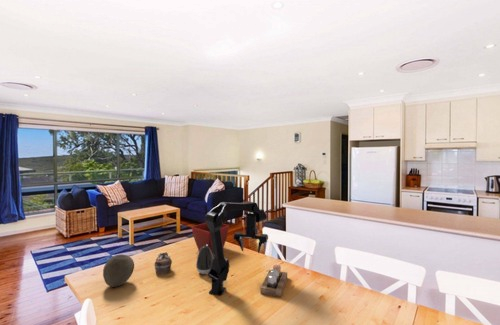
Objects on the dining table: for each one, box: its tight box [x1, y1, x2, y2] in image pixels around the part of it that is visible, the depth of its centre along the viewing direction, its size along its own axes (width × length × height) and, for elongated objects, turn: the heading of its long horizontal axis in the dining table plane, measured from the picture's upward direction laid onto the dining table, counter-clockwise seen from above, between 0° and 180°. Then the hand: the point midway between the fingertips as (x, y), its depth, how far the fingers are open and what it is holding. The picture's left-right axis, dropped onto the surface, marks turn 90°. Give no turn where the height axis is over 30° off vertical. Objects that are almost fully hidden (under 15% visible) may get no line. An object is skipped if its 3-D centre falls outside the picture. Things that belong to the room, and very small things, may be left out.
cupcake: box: [153, 252, 173, 275], centre depth 143 cm, size 10×10×10 cm
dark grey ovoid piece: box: [195, 244, 214, 275], centre depth 141 cm, size 10×10×15 cm
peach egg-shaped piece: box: [272, 264, 282, 276], centre depth 132 cm, size 4×4×5 cm
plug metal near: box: [268, 274, 277, 288], centre depth 122 cm, size 4×4×5 cm
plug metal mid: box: [270, 268, 279, 282], centre depth 127 cm, size 4×4×5 cm
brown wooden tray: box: [260, 269, 288, 298], centre depth 127 cm, size 19×10×3 cm, turn 163°
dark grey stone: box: [102, 254, 135, 288], centre depth 128 cm, size 14×14×15 cm
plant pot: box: [191, 222, 230, 254], centre depth 174 cm, size 19×19×17 cm
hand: (250, 252), depth 137 cm, fingers open, 9 cm apart
